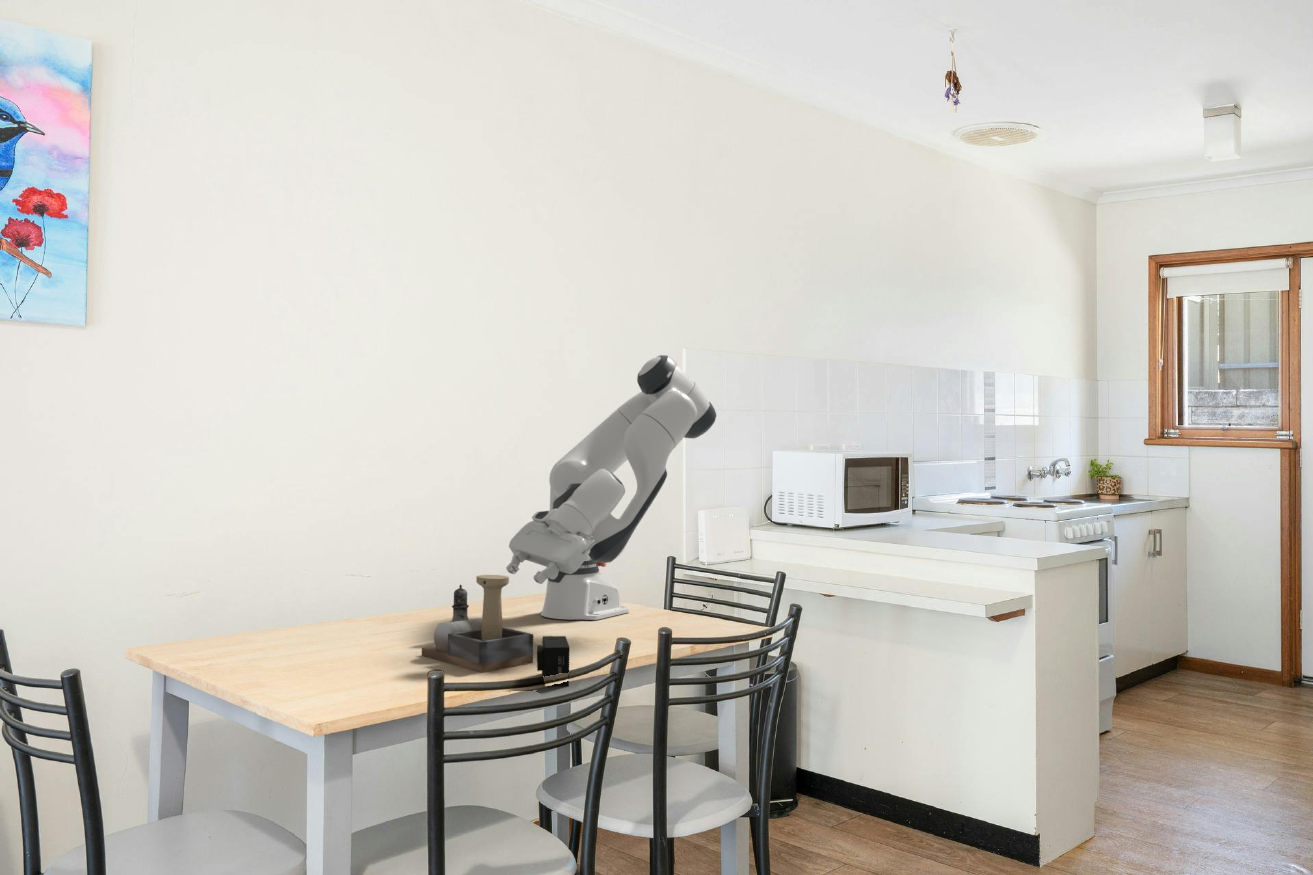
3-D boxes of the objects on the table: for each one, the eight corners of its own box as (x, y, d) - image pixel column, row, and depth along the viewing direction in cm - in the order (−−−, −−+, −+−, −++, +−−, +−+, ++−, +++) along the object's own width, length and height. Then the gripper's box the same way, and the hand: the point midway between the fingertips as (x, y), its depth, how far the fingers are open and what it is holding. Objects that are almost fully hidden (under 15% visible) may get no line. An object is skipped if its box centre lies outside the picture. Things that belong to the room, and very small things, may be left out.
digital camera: (535, 673, 188) (536, 635, 188) (565, 673, 189) (565, 635, 189) (537, 687, 177) (538, 647, 177) (568, 686, 178) (569, 646, 178)
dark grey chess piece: (440, 640, 216) (440, 584, 216) (462, 636, 221) (463, 581, 221) (456, 644, 212) (457, 587, 212) (479, 640, 217) (480, 584, 217)
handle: (496, 658, 192) (497, 579, 192) (470, 654, 196) (471, 576, 196) (512, 654, 196) (513, 576, 197) (486, 650, 200) (488, 574, 200)
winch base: (471, 646, 210) (472, 614, 210) (532, 662, 196) (533, 627, 196) (421, 655, 202) (422, 621, 202) (481, 672, 188) (482, 635, 188)
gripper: (606, 549, 206) (561, 598, 199) (545, 531, 221) (502, 576, 214) (591, 526, 203) (546, 575, 196) (531, 510, 218) (487, 555, 211)
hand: (522, 576), depth 205 cm, fingers open, 8 cm apart
